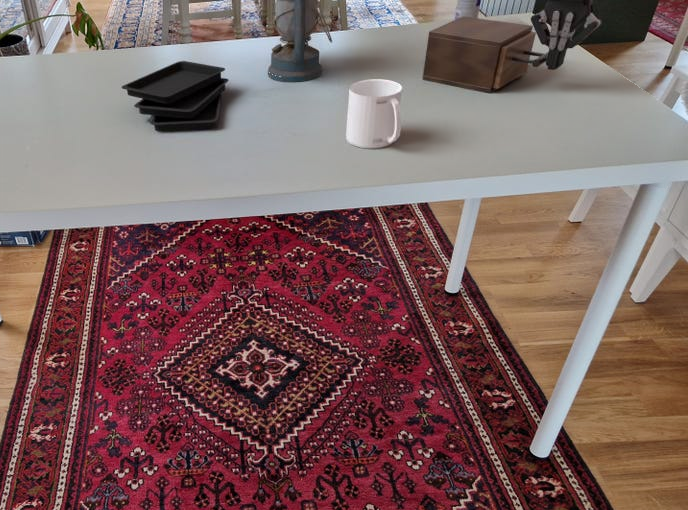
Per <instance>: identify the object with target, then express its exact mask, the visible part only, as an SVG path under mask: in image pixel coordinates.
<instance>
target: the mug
mask: <svg viewBox="0 0 688 510" xmlns="http://www.w3.org/2000/svg"><path fill="white" fill-rule="evenodd" d="M402 92H403V86H402V85H401V84H400V83H399V82H396V81H394V80H390V79H382V78H381V79H380V78H373V79H372V78H371V79H363V80H359V81H356V82H353V83H352V84H350V86H349V91H348V103H347V104H348V105H347V118H346V133H345V138H346V141H347V143H349V144H350V145H351V146H354V147H357V148H361V149H368V150H369V149H371V150H372V149H373V150H374V149H383V148H386V147H389V146H390V145H392V144H394V143H395V142H396V141H397V140H398V139H399V138H400V135H401V131H402V114H401V107H400V106H401V100H402Z"/></svg>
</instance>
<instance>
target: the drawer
mask: <svg viewBox="0 0 688 510" xmlns="http://www.w3.org/2000/svg"><path fill="white" fill-rule="evenodd" d="M536 35H537V33H536V31H532V32H529V33H527V34H525V35H523V36H520V37H518V38H517V39H515V40H513V41H511V42H509V43H507V44H505V45H503V46H502V47H501V51H500V56H499V60H498V65H497V70H496V74H495V79H494V84H493V88H496V90H499V89H500V88H502V87H503V86H505V85H508V84H509V83H510V82H512V81H514V80H515V79H517V78H519V77H520V76H522V75H524V74H526V73H527V71H528V67H529V65H530V64H531V65H532V67H533V68H539V67H540V66H542V65H543V64H546V60H547V56H548V52H549V51H547V52H546V53H543V52H537V51H533V46H534V43H535V38H536ZM532 56H533V57H537V58H535V59H531V57H532Z"/></svg>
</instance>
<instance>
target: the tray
mask: <svg viewBox="0 0 688 510" xmlns="http://www.w3.org/2000/svg"><path fill="white" fill-rule="evenodd" d="M225 71H226V68H225V67H222V66H216V65H210V64H206V63H205V64H203V63H198V62H192V61H186V60H179V61H176V62H174V63H171V64H170V65H167V66H165V67H163V68H160V69H158V70H155V71H153V72H151V73H149V74H146V75H144V76H142V77H140V78H138V79H135V80H132V81H130V82H128V83H126V84H124V85H122V86H121V89H123V90H126V92H127V96H129V97H133V98H137V99H140V100H139V101H137V102H136V103H135V104H134V106H133V107H134V108H136V109H138V110H139V114H141V115H146V116H152V117H151V120H150V125H152V126H153V127H154V130H155V131H156V132H174V131H175V132H176V131H198V130H212V129H215V128H217V124H218V120H219V115H220V110H221V103H222V96H223V93H224V92H225V91H226V84H227V83H229V81H230V79H228V78H225V77H222V73H223V72H225Z"/></svg>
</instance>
